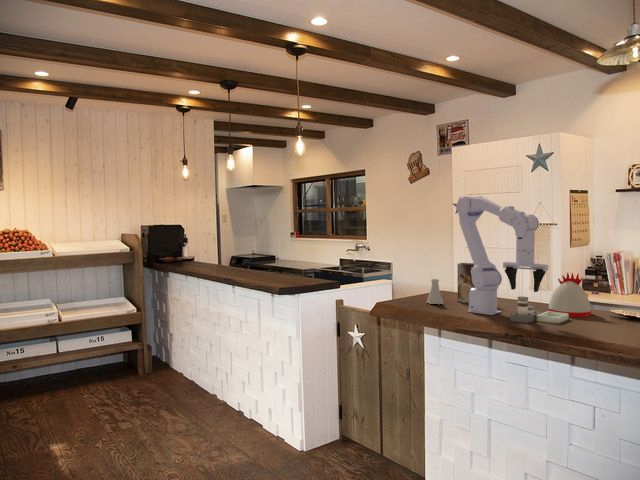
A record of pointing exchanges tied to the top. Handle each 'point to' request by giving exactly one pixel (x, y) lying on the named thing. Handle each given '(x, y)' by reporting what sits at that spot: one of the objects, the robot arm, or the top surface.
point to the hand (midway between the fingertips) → (524, 290)
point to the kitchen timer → (570, 298)
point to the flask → (435, 293)
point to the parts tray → (552, 317)
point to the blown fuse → (523, 306)
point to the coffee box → (464, 281)
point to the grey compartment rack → (525, 319)
